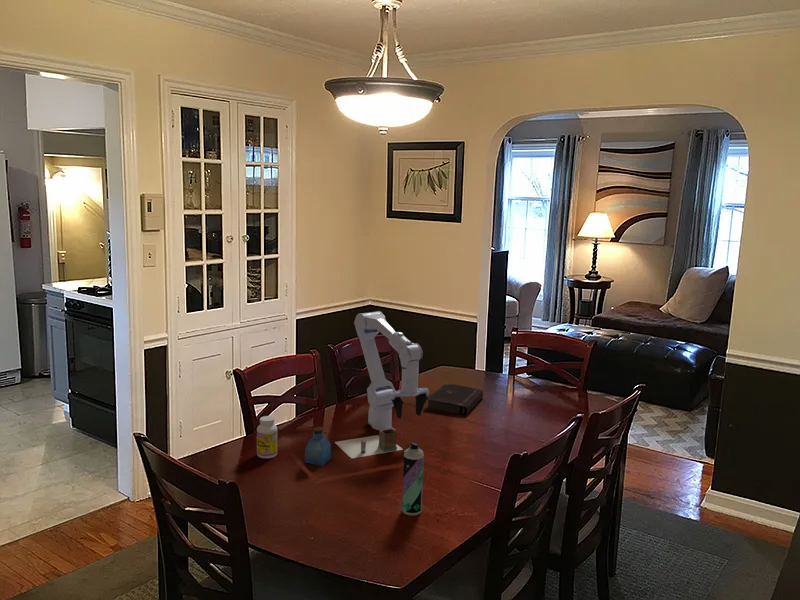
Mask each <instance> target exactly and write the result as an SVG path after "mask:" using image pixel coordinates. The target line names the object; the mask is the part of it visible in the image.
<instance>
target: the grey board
mask: <svg viewBox="0 0 800 600" xmlns="http://www.w3.org/2000/svg"><path fill="white" fill-rule="evenodd" d="M362 440H365V441H366V453H361V441H362ZM334 444H336V445H337V446H338V447H339V448H340V449H341V450H342V452H344V453H345V454H346V455H347V456H348V457H350V459H356V458H363V457H369V456H375V455H380V454H386V453H392V452H396V451H398V452H399V451H403V450H404V449H403V448H402V447H401V446H400V445H398V444H397V443H396V447H397V450H393V451H387V452H384V451H382V450H381V449H380V448H379V447H378V444H379V434H378V435H371V436H370V435H369V436H365V437H356V438H350V439H345V440H341V441H340V440H339V441H334Z"/></svg>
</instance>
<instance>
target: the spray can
mask: <svg viewBox="0 0 800 600" xmlns="http://www.w3.org/2000/svg"><path fill="white" fill-rule="evenodd" d="M403 452H404V453H403V467H402V468H403V469H402V470H403V471H402V474H403V475H402V499H401V500H402V502H401V512H402V513H403V514H405V515H407V516H418V515H420V514H421V513H422V510H423V509H422V506H423V486H424V485H423V483H424V482H423V481H424V478H423V477H424V458H425V457H424V456H425V455H424V450H422V449H421V448H420V447H419V446H418V442H411V443H410V446H409V447H408V448H406V449H405V450H404V451H403Z"/></svg>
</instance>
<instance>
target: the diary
mask: <svg viewBox="0 0 800 600" xmlns="http://www.w3.org/2000/svg"><path fill="white" fill-rule="evenodd" d="M427 396H428V399H427V407H426V408H424V410H426V411H431V412H432V411H433V412H439V413H445V414H446V413H449V414H456V415H461V416H462V415H464V414H465V417H466V416H468V414H469V413H470V412H471V411H472V410H473V409H475V407H476V406H477V405H478V403H479V402H480V401H481V400H482V399H483V398H484V389H483V388H477V387H472V386H467V385H463V384H457V383H455V384H454V383H443V384H442V385H441V386H439V388H437V389H436V390H435V391H434V392H432V393H430V394H429V395H427Z"/></svg>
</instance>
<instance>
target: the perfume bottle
mask: <svg viewBox="0 0 800 600" xmlns="http://www.w3.org/2000/svg"><path fill="white" fill-rule="evenodd" d="M312 429H313V431H312V436H313V437H311V438H310V439H309V440H308V441H307V444H306V445H305V447H304V463H307V464H310V465H311V464H312V465H316V466H324V465H326V463H327V462H328V461H330V460H331V458H332V456H331V455H332V444H331V442H330V440H329V438H328V437H327V436H325V435H324V427H322V426H316V427H313V428H312Z"/></svg>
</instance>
